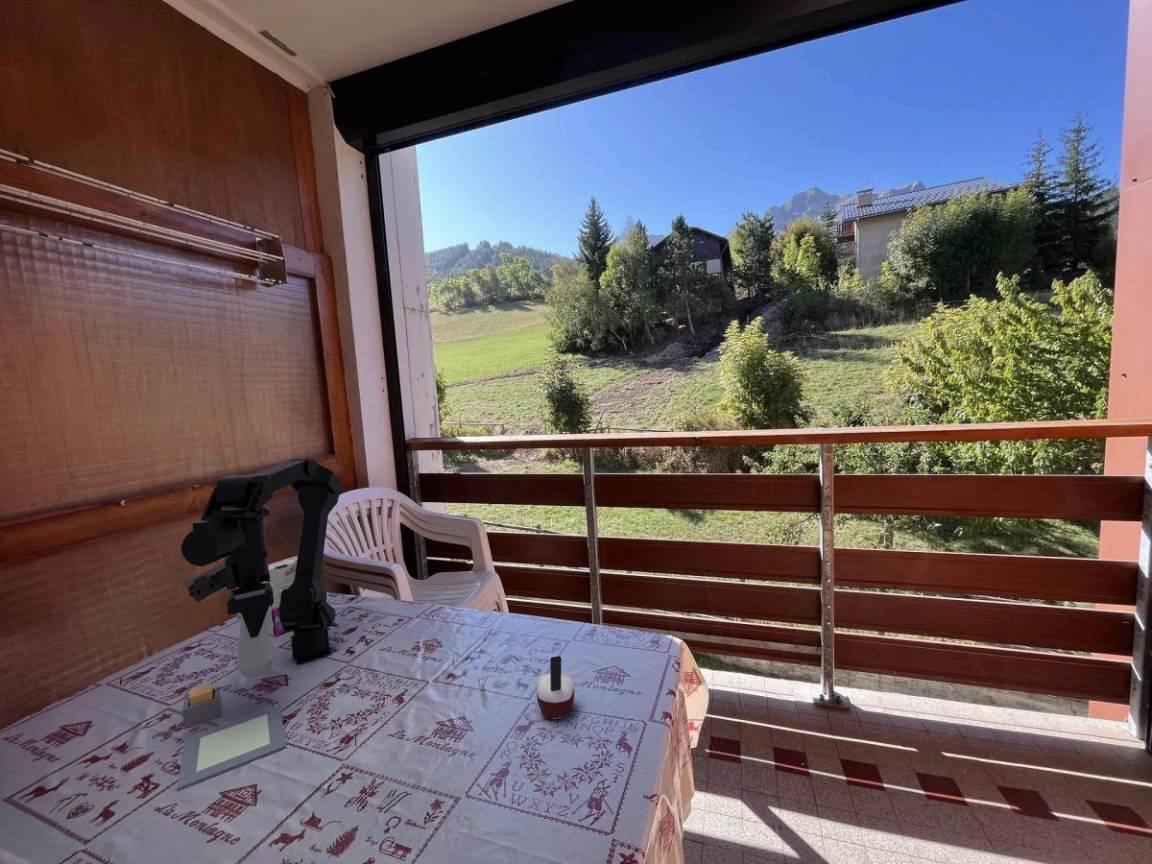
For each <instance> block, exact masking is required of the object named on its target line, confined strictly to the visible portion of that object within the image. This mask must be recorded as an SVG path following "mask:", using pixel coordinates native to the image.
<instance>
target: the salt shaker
mask: <svg viewBox="0 0 1152 864" xmlns="http://www.w3.org/2000/svg"><path fill="white" fill-rule="evenodd" d="M236 614H237V616H238V617H239V618H241V620H240V626H239V637H238V644H237V647H238V648H237V656H236V667H237V668H238V670H239V671H240V672H241V674H242V676H245V677H246V678H247V679H250V678H255V677H259V676H262V675H264V674H265V673H268V672H270V670H271V668H272V665H273V663H274V660H275V658H276V655H277V653H276V649H275V646H274V643H273V641H272V638H271V635H270V634H269V632H268V629H267V626H266V622H265V619H264V622H263V625H262V627H261V630H260V633H259V636H258V637H255V638H251V637H250V635H249V632H248V629H247V627H246V624H245V622H244V619H243V617H242V614H241V613H236Z"/></svg>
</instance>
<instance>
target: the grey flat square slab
mask: <svg viewBox="0 0 1152 864" xmlns="http://www.w3.org/2000/svg"><path fill="white" fill-rule="evenodd" d="M286 748H287V744H286V737H285V729H284V722H283V717H282V709H281V704H276V705H274V706H272V707H271V706H270V707H268V708H266V709H263V710H260V711H257V712H254V713H251V714H248V715H246V716H243V717H240V718H238V719H233V720H230V721H228V722H225V723H222V724H219V725H217V726H214V727H211V728H208V729H205V730H202V731H200V732H197V733H194V734H191V735H188V736H185V738H184V745H183V751H182V756H181V762H180V769H179V775H178V780H177V786H176V790H177V791H182V790H184V789H186V788H189V787H191V786H193V785H196V784H200V783H202V782H203V781H204V782H205V781H206V780H209V779H211V778H214V777H216V776H217V777H218V776H220V775H221V774H224V773H227V772H229V771H232V770H235V769H237V768H240V767H241V766H244V765H247V764H249V763H252V762H255V761H257V760H259V759H261V758H264V757H267V756H270V755H271V754H274V753H277V752H279V751H282V750H284V749H286Z"/></svg>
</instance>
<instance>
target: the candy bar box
mask: <svg viewBox="0 0 1152 864" xmlns="http://www.w3.org/2000/svg"><path fill="white" fill-rule="evenodd" d="M297 557H298V555H295V556H291V557H288V558H285V559H281V560H278V561H275V562H272V563H268V568H269V576H270V579H269V581H265V582H262V584H263V583H270V586H271V587H272V589H273V598H274V604H272V605H270V606H269V609H268V611H267V614H266V617H265V622H266V626H267V629H268V632H269V634H270V636H272V637H273V638H277V637H279V636H281V635H284V634H286V632H284V629H283V627H282V624H281V622H280V619H279V616H278V612H279V611H278V608H279V606H280V601H281V593H282V591H283V590H284V589H288V588H289V587H290V585H291V584H292V583H293V582H294V578H295V571H296V564H297ZM289 632H290V631H288V632H287V633H289Z"/></svg>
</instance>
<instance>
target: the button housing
mask: <svg viewBox="0 0 1152 864" xmlns="http://www.w3.org/2000/svg"><path fill="white" fill-rule="evenodd" d="M220 688H221V687H220V685H219V686H216V687H213V694H214V699H212V700H209V701H206V702H202V703H199V704H196V705H193V706H190V699H189V698H190V694H189V695H187V696H185V697H184V702H183V706H182V707H183V709H182V716H183V725H184V726H183V727H184V730H186V729H188V728H189V729H190V728H191V727H195V726H198V725H199V724H200V725H201V724H203V723H206V722H209V721H212V720H214V719H217V718H221V714H222V699H221V689H220Z"/></svg>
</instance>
